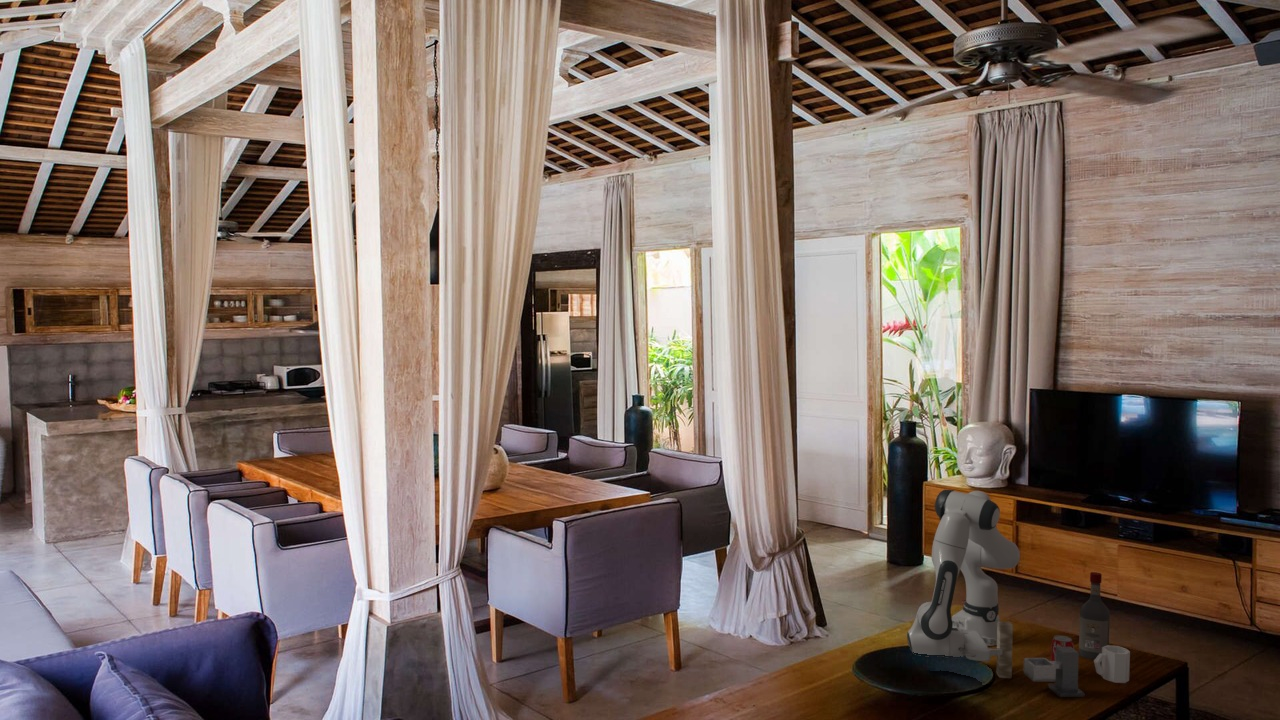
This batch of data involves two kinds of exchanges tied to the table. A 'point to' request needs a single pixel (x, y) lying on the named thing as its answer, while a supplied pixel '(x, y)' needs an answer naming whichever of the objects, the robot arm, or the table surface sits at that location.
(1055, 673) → the cup bracket
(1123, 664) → the mug
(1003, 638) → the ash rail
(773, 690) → the table surface
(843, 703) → the table surface
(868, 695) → the table surface
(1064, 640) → the soda can
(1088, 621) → the liquor
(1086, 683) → the table surface
